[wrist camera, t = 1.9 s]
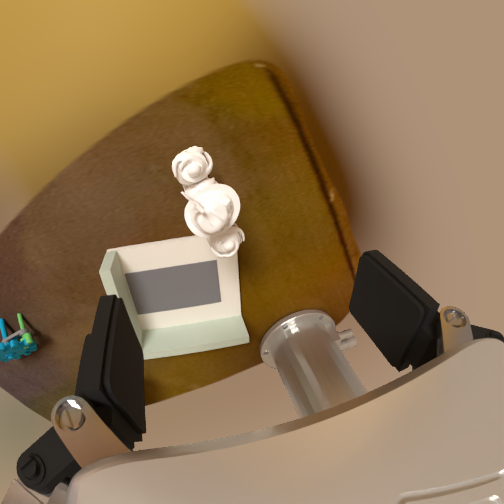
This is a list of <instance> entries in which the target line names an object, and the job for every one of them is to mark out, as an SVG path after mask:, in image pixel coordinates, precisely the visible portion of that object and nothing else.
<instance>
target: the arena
mask: <svg viewBox="0 0 504 504" xmlns="http://www.w3.org/2000/svg"><path fill="white" fill-rule="evenodd" d="M209 239H210V238H208V240H209ZM208 240H207V238H204V237H199V236H197V235H196V236H190V237H183V238H176V239H170V240H163V241H157V242H150V243H144V244H138V245H132V246H126V247H119V248H114V249H108V250H107V252H106V254H105V257H104V260H103V262H102V265H101V268H100V270H99V273H100V276H101V279H102V282H103V285H104V288H105V290H106V293H107V295H113V294H115V295H117V297H118V298H122V299H123V301H124V304H125V307H126V310H127V312H128V315H129V317H130V320H131V323H132V325H133V328H134V330H135V333H136V335H137V338H138V340H139V342H140V345H141V347H142V350H143V355H144V359H152V358H160V357H168V356H175V355H182V354H189V353H195V352H201V351H207V350H213V349H218V348H224V347H229V346H234V345H239V344H244V343H249V335H248V332H247V329H246V327H245V324H244V321H243V318H242V316H241V304H240V288H239V272H238V255H237V252H236V253H235V255H234V256H232V257H230V258H218V257H216V256H215V254H214V253H213V252H212V250H211V246H210V245H209V243H208ZM209 242H210V241H209ZM210 244H211V243H210ZM213 249H214V248H213ZM214 250H215V249H214ZM215 251H216V250H215ZM216 252H217V251H216ZM219 254H220V253H219Z"/></svg>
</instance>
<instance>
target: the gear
mask: <svg viewBox="0 0 504 504" xmlns="http://www.w3.org/2000/svg"><path fill="white" fill-rule="evenodd" d="M17 316H18V320H19V324H20V328H21V330H19V331H17V332H15V333H14V334H12V335H10V336H8V333H7V329H6V325H5V321H4V319H0V329H1V333H2V336H3V340H2V343H0V361H2V360H3V362H8V361H10V359H14V358H15V359H19V358H21V355H22V354H24V355H25V356H26V355H29V354H31V352H32V351H36V350H37V345H36V342H35V340H33V339H32V336H31V333H29V330H28V329H27V328H25V326H24V322H23V318H22V314H21V313H19V314H17ZM20 337H23V338H22V339H20V342H18V340H16V339H18V338H20Z"/></svg>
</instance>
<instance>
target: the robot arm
mask: <svg viewBox="0 0 504 504" xmlns="http://www.w3.org/2000/svg"><path fill="white" fill-rule="evenodd" d="M439 305H440V304H439V303H437V302H436V301H435V300H434V299H433V298H432V297H431V296H430V295H429V294H428V293H427V292H426V291H424V290H423V289H422V288H421V287H420V286H419V285H418V284H417V283H416V282H414V281H413V280H412V279H411V278H410V277H409V276H408V275H406V274H405V273H404V272H403V271H402V270H401V269H399V268H398V267H397V266H396V265H395V264H393V263H392V262H391V261H390V260H389V259H388V258H386V257H385V256H384V255H383V254H382V253H380V252H379V251H378V250H372V251H367V252H364V253H363V254H362V256H361V257H360V259H359V264H358V269H357V274H356V279H355V283H354V288H353V292H352V297H351V301H350V305H349V309H350V312H351V314H352V315H353V317H354V318H355V319H356V320H357V322H358V323H359V324H360V325H361V327H362V328H363V329H364V331H365V332H366V333H367V334H368V336H369V337H370V338H371V340H372V341H373V342H374V343H375V345H376V346H377V347H378V349H379V350H380V351H381V352H382V354H383V355H384V356H385V358H386V359H387V360H388V362H389V363H390V364H391V365H392V366H393V367H396V369H397V370H398V371H399V372H400V371H402V370H404V369H406V368H408V367H409V365H410V364H411V365H412V371H411V372H409V373H408V374H406V375H404V376H402V377H400V378H398V379H396V380H394V381H392V382H390V383H388V384H386V385H383V386H381V387H379V388H377V389H375V390H373V391H370V392H368V391H367V389H366V388H365V386H364V385H363V383H362V382H361V380H360V378H359V377H358V375H357V374H356V372H355V371H354V369H353V368H352V366H351V365H350V363H349V362H348V360H347V359H346V357H345V356H344V354H343V353H342V351H343V350H346V349H350V348H352V347H355V346H356V345H357V342H356V339H355V337H354V336H353V332H352V330H351V329H348V330H345V331H343V332H340V333H339V332H336V331H335V330H336V327H335V323H334V321H333V320H332V318H331V317H330V316H329V315H328V314H327V313H325V312H323V311H320V310H313V309H312V310H303V311H299V312H296V313H293V314H290V315H288V316H286V317H285V318H283V319H281V320H280V321H278V322H277V323H275V324H274V325H273V326H272V327H271V328H270V329H269V330H268V331H267V333H266V334H265V335H264V337H263V339H262V341H261V344H260V355H261V357H262V360H263V362H264V363H265V364H266V365H268V366H269V367H272V368H274V369H278V372H279V374H280V376H281V378H282V381H283V383H284V385H285V388H286V390H287V392H288V394H289V397H290V399H291V401H292V403H293V405H294V408H295V410H296V412H297V415H298V417H299V419H297V420H294V421H290V422H287V423H283V424H280V425H276V426H273V427H269V428H266V429H262V430H258V431H253V432H249V433H245V434H241V435H236V436H231V437H226V438H221V439H216V440H210V441H204V442H199V443H193V444H185V445H178V446H170V447H163V448H155V449H146V450H139V451H133V450H132V449H133V448H134V442H139V441H142V434H143V433H146V420H145V401H144V355H143V350H142V347H141V345H140V342H139V340H138V338H137V335H136V333H135V330H134V328H133V325H132V323H131V320H130V317H129V315H128V312H127V310H126V307H125V304H124V301H123V299H122V298H118V297H117V295H115V294H113V295H106V296H101V297H100V300H99V304H98V308H97V312H96V316H95V320H94V324H93V328H92V333H91V334H88V335H87V336H86V338H85V342H84V346H83V351H82V356H81V361H80V366H79V372H78V378H77V384H76V391H75V396H67V397H64V398H63V399H61V400H59V401H58V402H57V403H56V404H55V406H54V408H53V410H52V414H51V422H52V424H53V427H51V428H50V429H49V430H48V431H47V432H46V433H45V434H44V435H43V436H42V437H40V438H39V439H38V440H37V441H36V442H35V443H33V444H32V445H31V446H30V447H29V448H28V449H27V450H26V451H25V452H23V453H22V454H21V456H20V457H19V459H18V462H17V474H18V477H19V478H18V480H15V479H13V481H12V483H11V485H10V487H9V489H8V491H7V493H6V495H5V497H4V499H3V501H2V503H1V504H504V337H503V335H502V334H501V333H499V332H497V331H494V330H490V329H486V328H482V327H478V326H474V325H470V322H469V318H468V316H467V315H466V314H465V313H464V312H463V311H462V310H460V309H458V308H456V307H453V306H447V307H444V308H442V309H441V311H440V313H439V312H438V311H437V310H438V307H439Z"/></svg>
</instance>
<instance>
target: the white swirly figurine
mask: <svg viewBox="0 0 504 504" xmlns="http://www.w3.org/2000/svg"><path fill="white" fill-rule="evenodd" d="M185 151H187V152H185ZM202 153H204V154H205V156H206V158H207V160H208V163H209V165H208V163H207V161H206V159H205V157H204V156H203V155H202ZM212 167H213V162H212V158H211V157H210V155H209V154H208V153H207V152H204V151H203V148H202V147H197V146H193V147H189V148H188V149H187V150H184V151H182V152H181V153H179V154H178V155H177V156H176V157H175V158H174V160H173V161H172V170H173V173H174V176H175V177H176V178H177V179H178V181H179V182H180V184H183V187H184V190H185V193H184V192H181V193H182V194H183V195H184V196H185V197H186V199H188V200H189V202H188V204H187V205H186V208H185V214H184V215H185V220H186V223H187V225H188V227H189V228H190V230H191V231H192V232H193V233H194V234H196V235H197V236H199V237H204V238H207V240H208V238H210V239H209V240H208V243H209V245H210V246H211V250H212V252H213V253H214V254H215V256H216V257H218V258H230V257H232V256H234V255H235V253H236V252H237V250H238V248H239V244H240V243H241V242H242V238H243V241H244V240H245V236H244V233H243V231H242V230H241V229H240V228H238V226H237V225H236V223H234V222H235V221H236V219H237V217H238V214H239V211H240V201H239V197H238V195H237V193H236V192H235V191H234V190H233V189H232V188H231V187H229V186H227V185H224V184H218V183H217V181H215V178H214V177H213V178H208V175H209V173H210V172H211V170H212ZM177 176H178V177H177ZM186 185H188V188H187V187H186ZM232 225H236V227H235V226H232ZM231 226H232V227H231ZM238 232H239V234H238ZM240 233H241V234H240ZM239 235H240V236H239ZM241 235H242V237H241ZM240 240H241V241H240ZM209 241H210V242H209ZM210 243H211V244H210ZM213 248H214V249H215V250H216V251H217V252H216V251H215V250H214V249H213ZM219 253H220V254H219Z"/></svg>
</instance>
